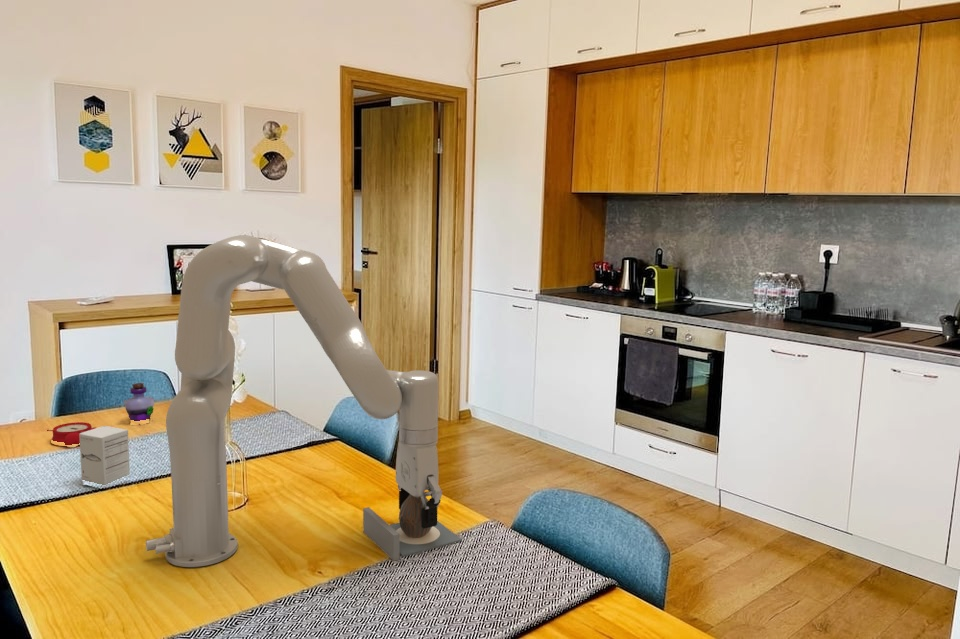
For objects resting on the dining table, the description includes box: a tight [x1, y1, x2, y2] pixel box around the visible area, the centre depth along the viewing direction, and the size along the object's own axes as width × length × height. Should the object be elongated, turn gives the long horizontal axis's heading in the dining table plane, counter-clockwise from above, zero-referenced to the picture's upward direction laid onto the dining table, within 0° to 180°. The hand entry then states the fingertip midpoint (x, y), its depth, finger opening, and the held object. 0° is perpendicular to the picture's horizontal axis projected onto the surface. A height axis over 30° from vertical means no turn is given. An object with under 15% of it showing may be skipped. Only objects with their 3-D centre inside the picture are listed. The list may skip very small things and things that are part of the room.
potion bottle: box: [123, 382, 155, 421], centre depth 210 cm, size 9×9×12 cm
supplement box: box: [79, 425, 131, 485], centre depth 163 cm, size 7×7×13 cm
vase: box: [398, 494, 432, 538], centre depth 140 cm, size 7×7×9 cm
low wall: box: [362, 506, 400, 562], centre depth 136 cm, size 1×14×5 cm, turn 33°
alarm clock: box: [46, 421, 96, 445], centre depth 192 cm, size 10×6×15 cm
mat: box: [389, 520, 463, 558], centre depth 140 cm, size 13×13×1 cm
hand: (417, 517), depth 140 cm, fingers open, 9 cm apart
